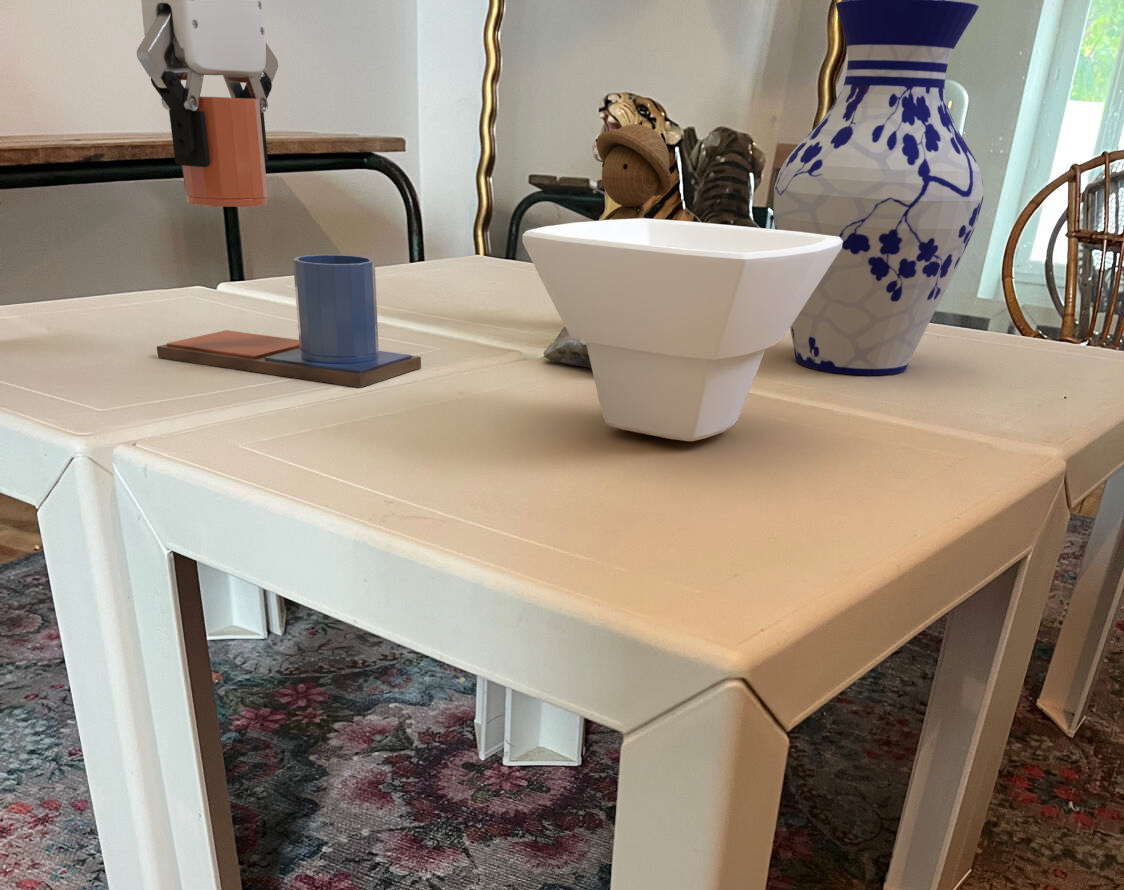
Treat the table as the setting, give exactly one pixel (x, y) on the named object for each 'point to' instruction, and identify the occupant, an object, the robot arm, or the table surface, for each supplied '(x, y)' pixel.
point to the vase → (883, 189)
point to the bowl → (677, 311)
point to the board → (282, 358)
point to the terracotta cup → (230, 156)
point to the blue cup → (336, 308)
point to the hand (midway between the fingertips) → (223, 162)
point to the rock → (568, 350)
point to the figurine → (633, 168)
